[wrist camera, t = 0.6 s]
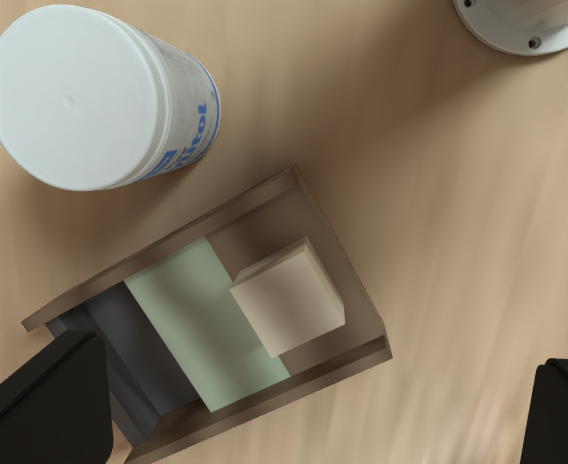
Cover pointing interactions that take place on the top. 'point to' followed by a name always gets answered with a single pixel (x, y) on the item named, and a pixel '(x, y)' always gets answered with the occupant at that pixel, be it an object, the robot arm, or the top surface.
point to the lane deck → (214, 323)
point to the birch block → (288, 298)
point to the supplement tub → (100, 100)
